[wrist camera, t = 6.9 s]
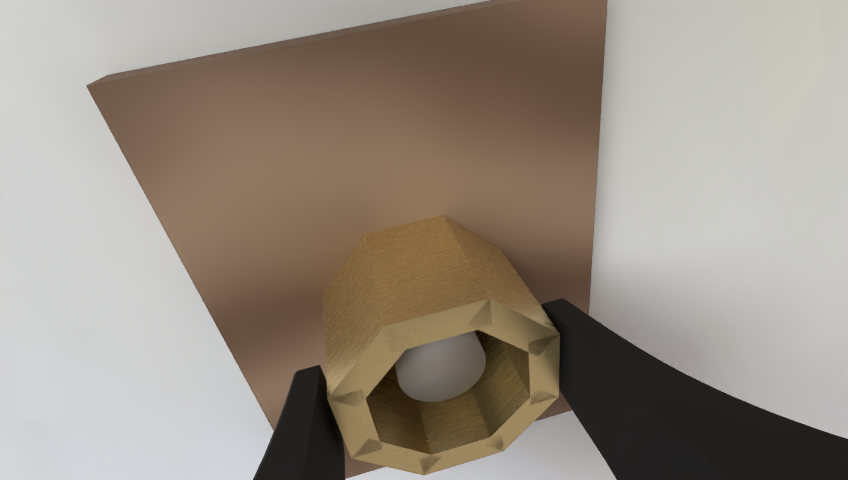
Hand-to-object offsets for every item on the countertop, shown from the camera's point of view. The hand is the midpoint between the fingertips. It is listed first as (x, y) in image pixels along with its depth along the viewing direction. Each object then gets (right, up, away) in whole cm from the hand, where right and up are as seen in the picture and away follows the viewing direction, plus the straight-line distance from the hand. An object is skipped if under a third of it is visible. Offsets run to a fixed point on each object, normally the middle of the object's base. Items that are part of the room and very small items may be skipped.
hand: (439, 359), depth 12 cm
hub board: (-1, +2, +3) cm, 4 cm away
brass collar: (-1, +1, +2) cm, 3 cm away
